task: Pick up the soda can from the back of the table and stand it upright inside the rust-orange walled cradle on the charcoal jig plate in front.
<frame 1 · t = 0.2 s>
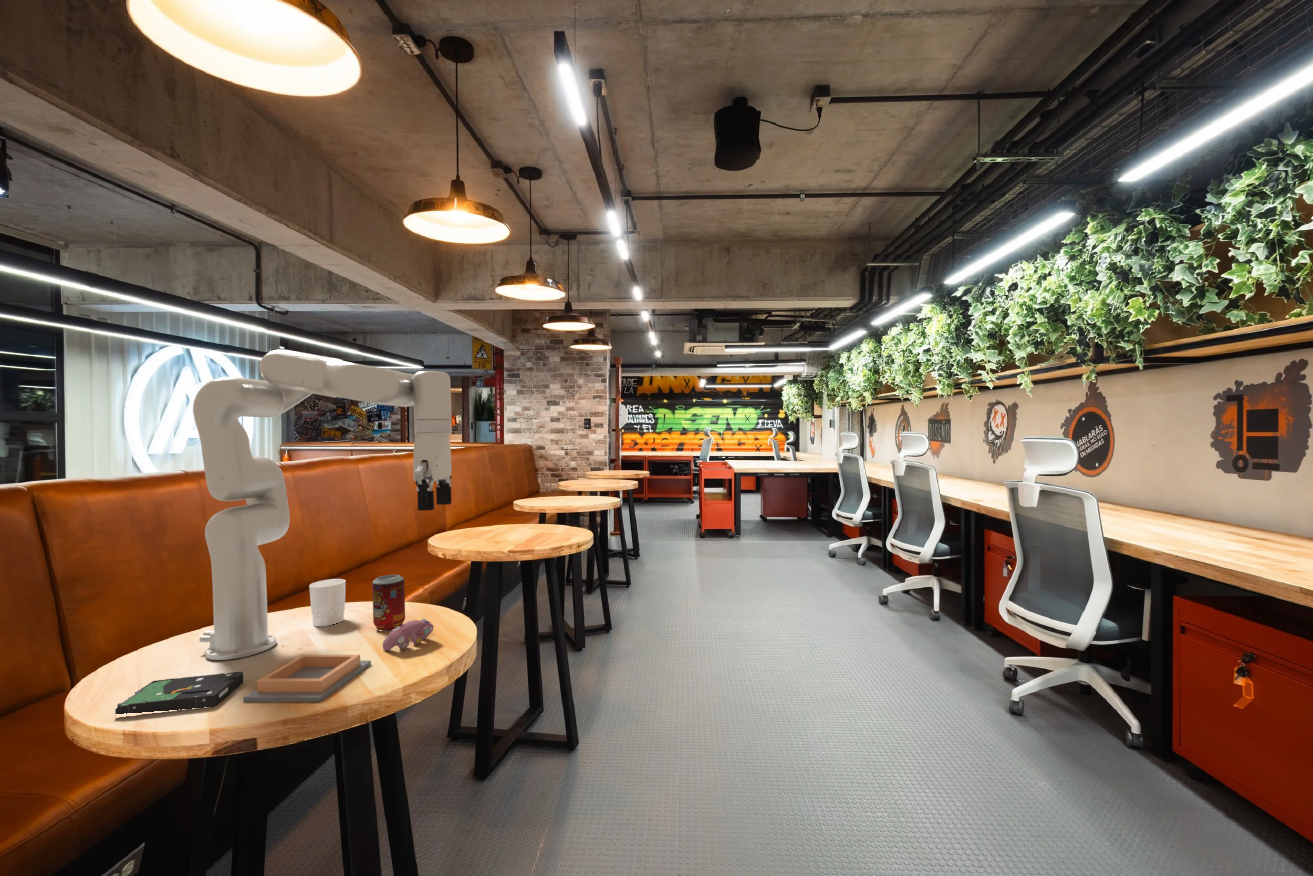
hand: (435, 507, 122), 31 cm above the table, tool pointing down, fingers open, 9 cm apart
cradle jig: (311, 681, 107), on the table
soda can: (389, 628, 137), on the table
video game controller: (409, 647, 124), on the table
white cup: (328, 623, 142), on the table
disk drive: (183, 703, 101), on the table
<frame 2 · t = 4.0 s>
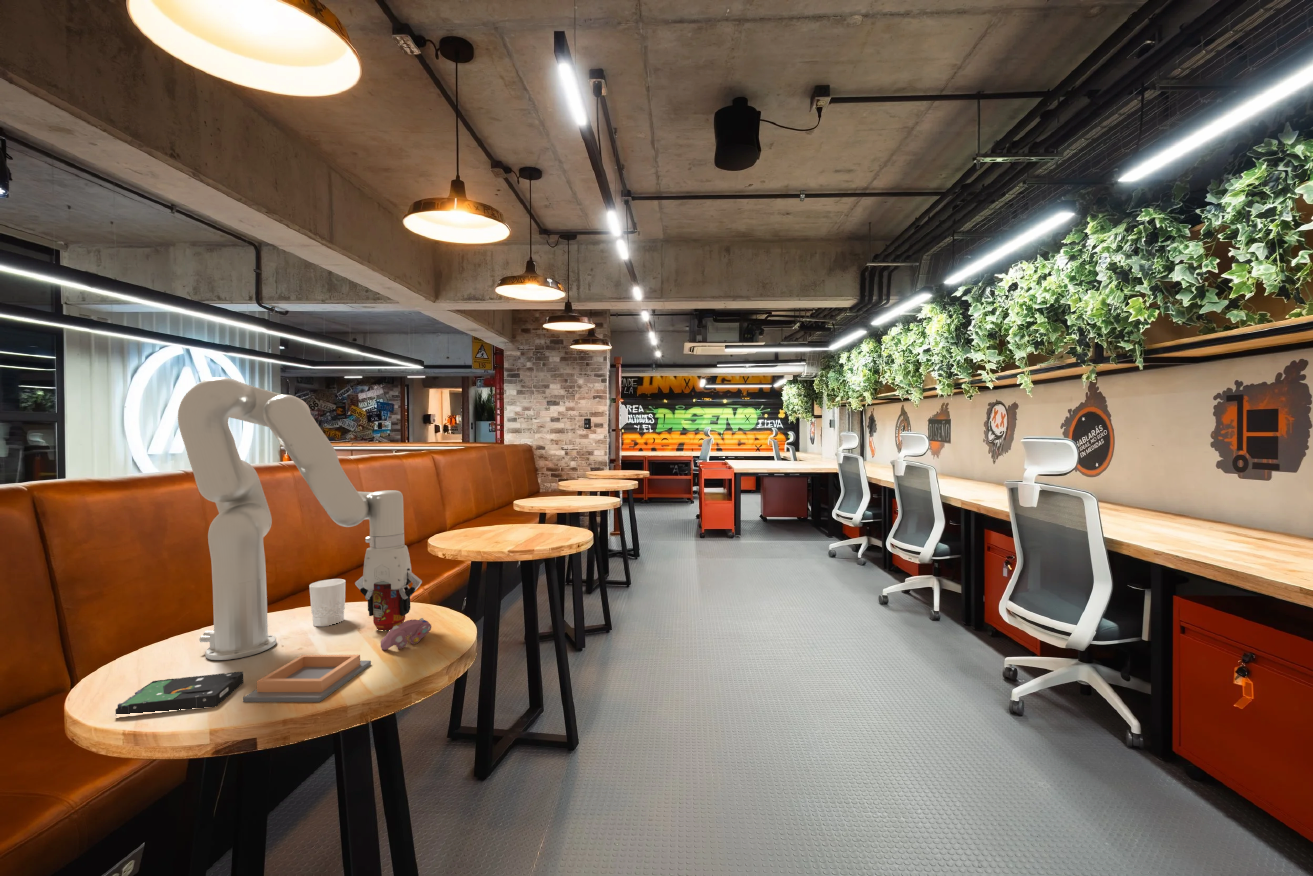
hand: (389, 613, 137), 3 cm above the table, tool pointing down, fingers closed on soda can, 7 cm apart
soda can: (389, 628, 137), on the table, touching gripper
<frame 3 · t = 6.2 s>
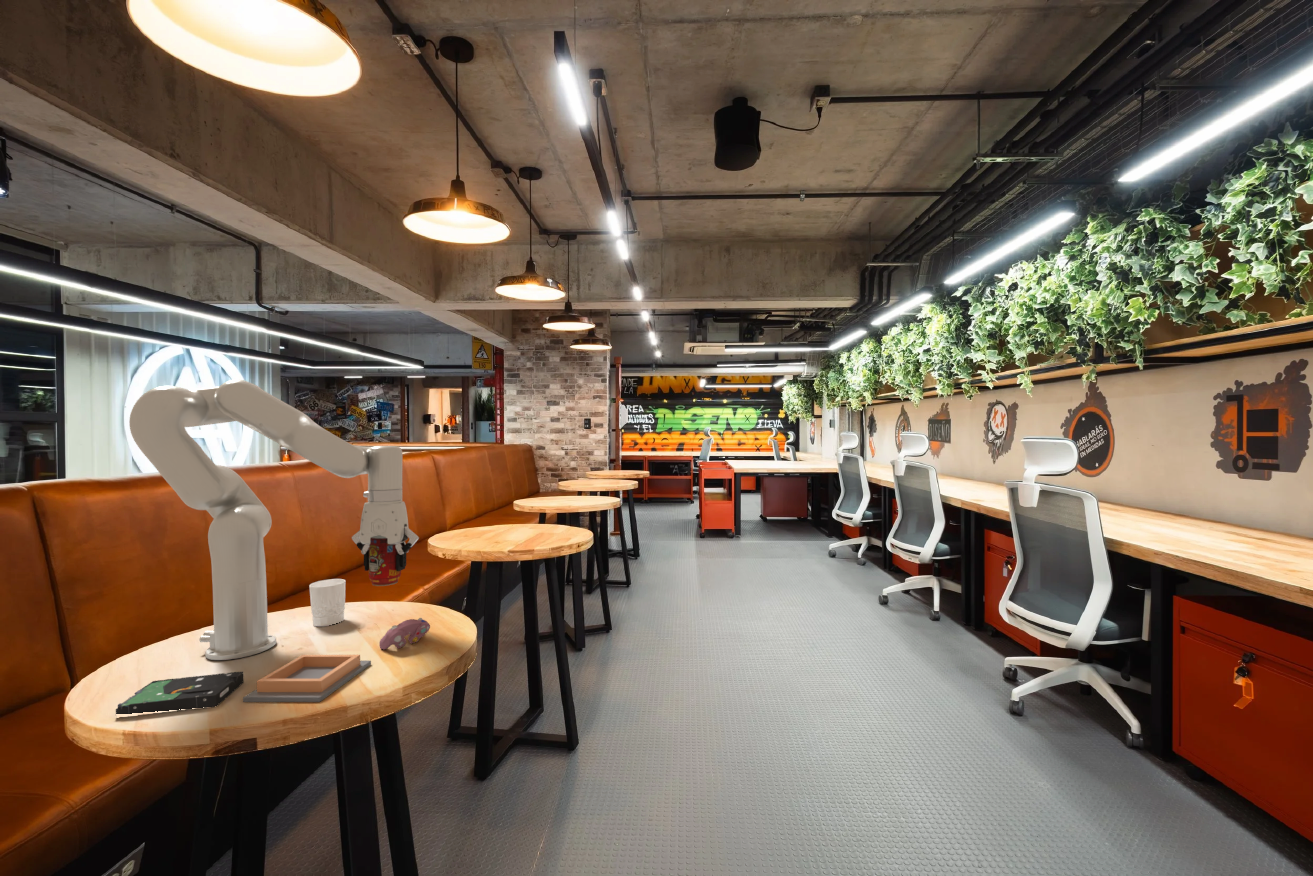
hand: (385, 569, 136), 14 cm above the table, tool pointing down, fingers closed on soda can, 7 cm apart
soda can: (385, 583, 136), point 11 cm above the table, touching gripper
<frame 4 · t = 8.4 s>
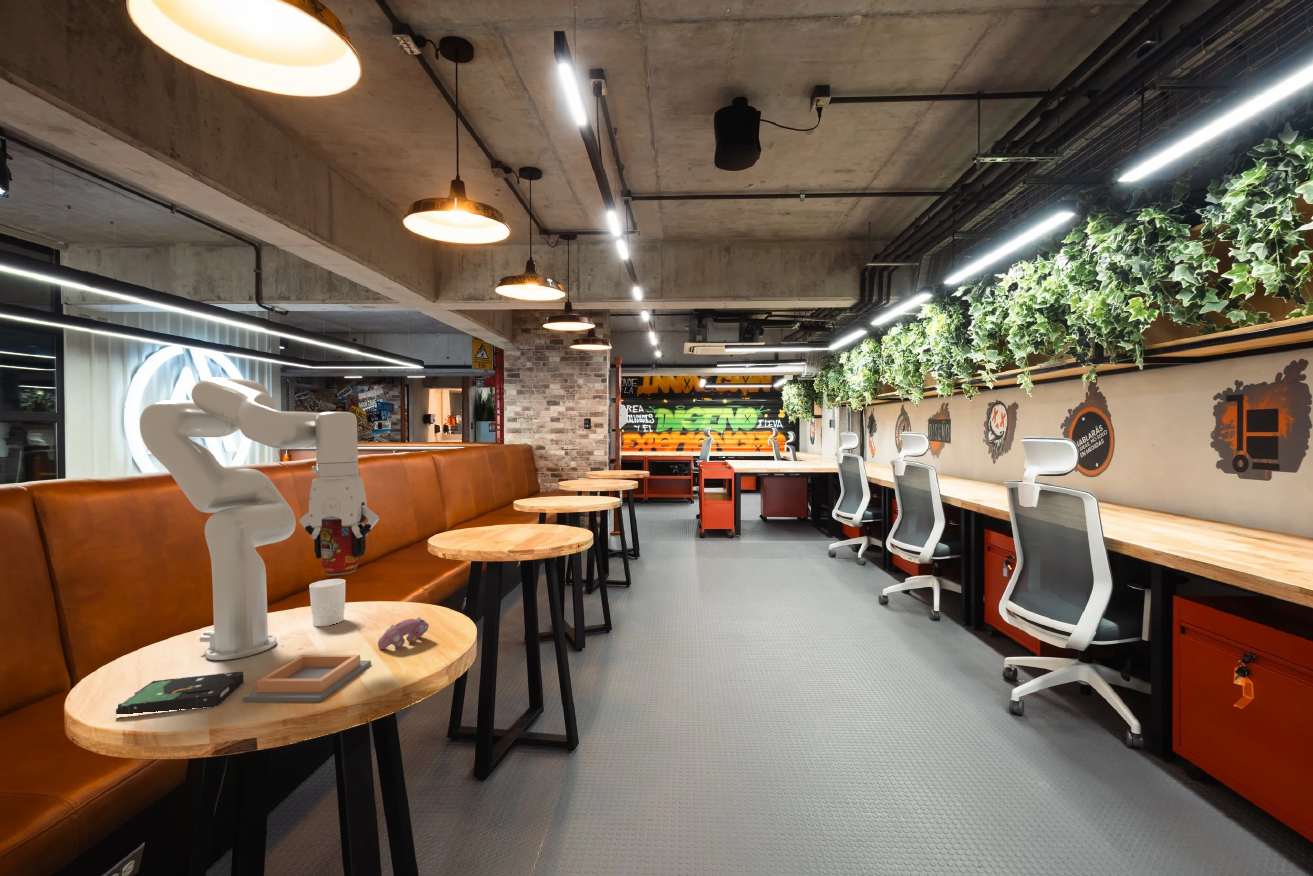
hand: (340, 555, 117), 22 cm above the table, tool pointing down, fingers closed on soda can, 7 cm apart
soda can: (341, 572, 117), point 18 cm above the table, touching gripper
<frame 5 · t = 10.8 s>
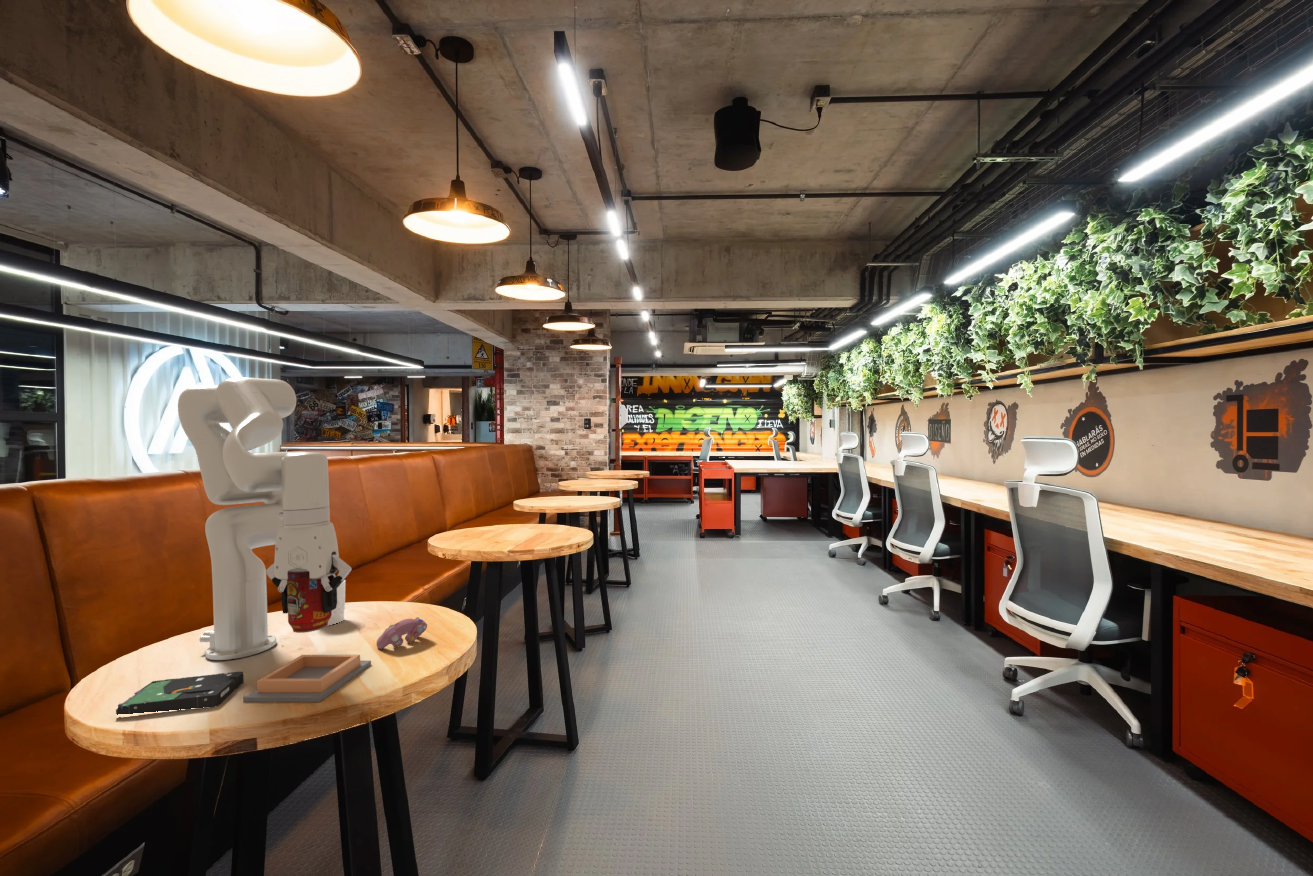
hand: (309, 610, 107), 14 cm above the table, tool pointing down, fingers closed on soda can, 7 cm apart
soda can: (310, 628, 107), point 10 cm above the table, touching gripper
when the fingers open (5 cm above the table, at t = 12.9 s): soda can drops 1 cm, resting on cradle jig.
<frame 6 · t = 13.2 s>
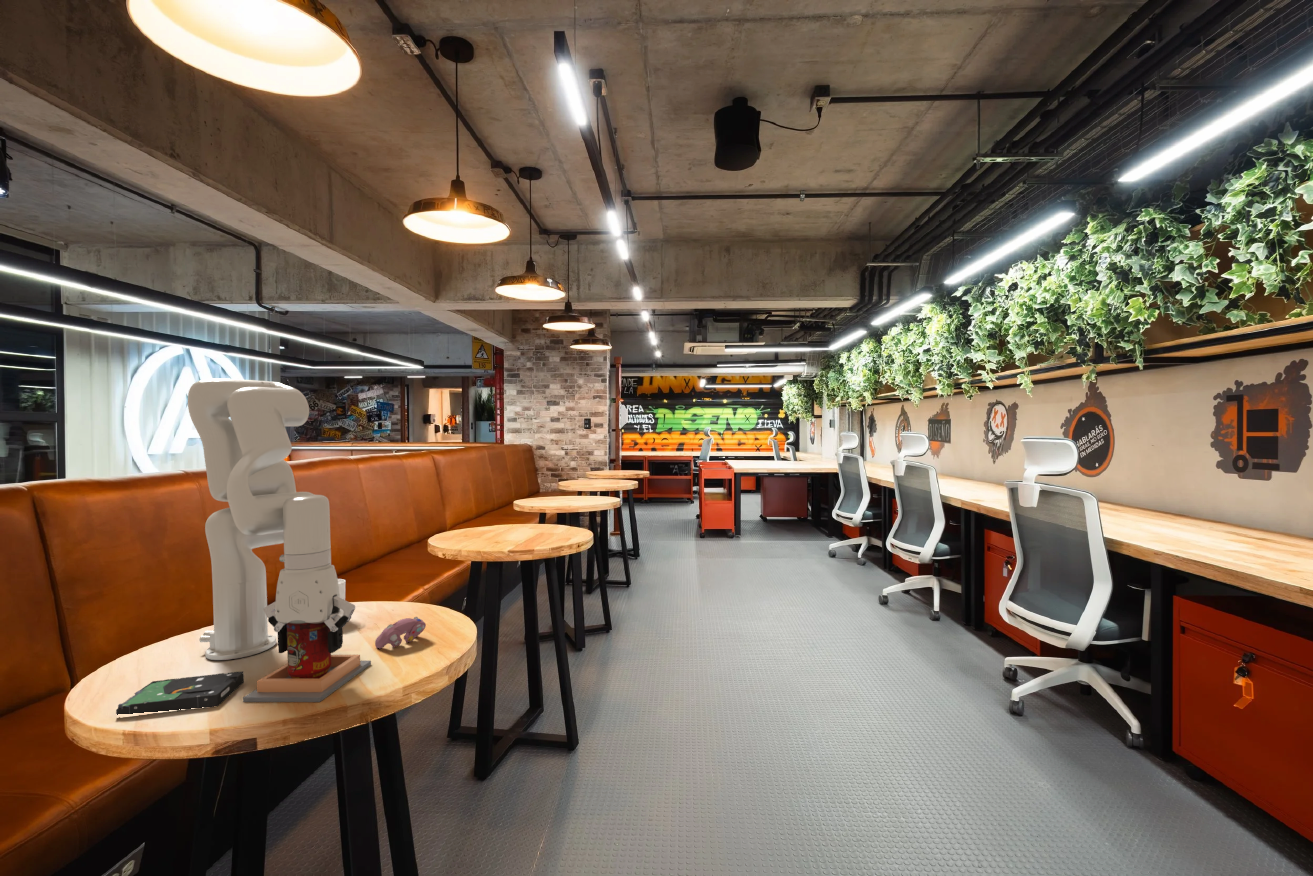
hand: (310, 650, 107), 6 cm above the table, tool pointing down, fingers open, 9 cm apart
soda can: (310, 678, 107), point 1 cm above the table, touching cradle jig
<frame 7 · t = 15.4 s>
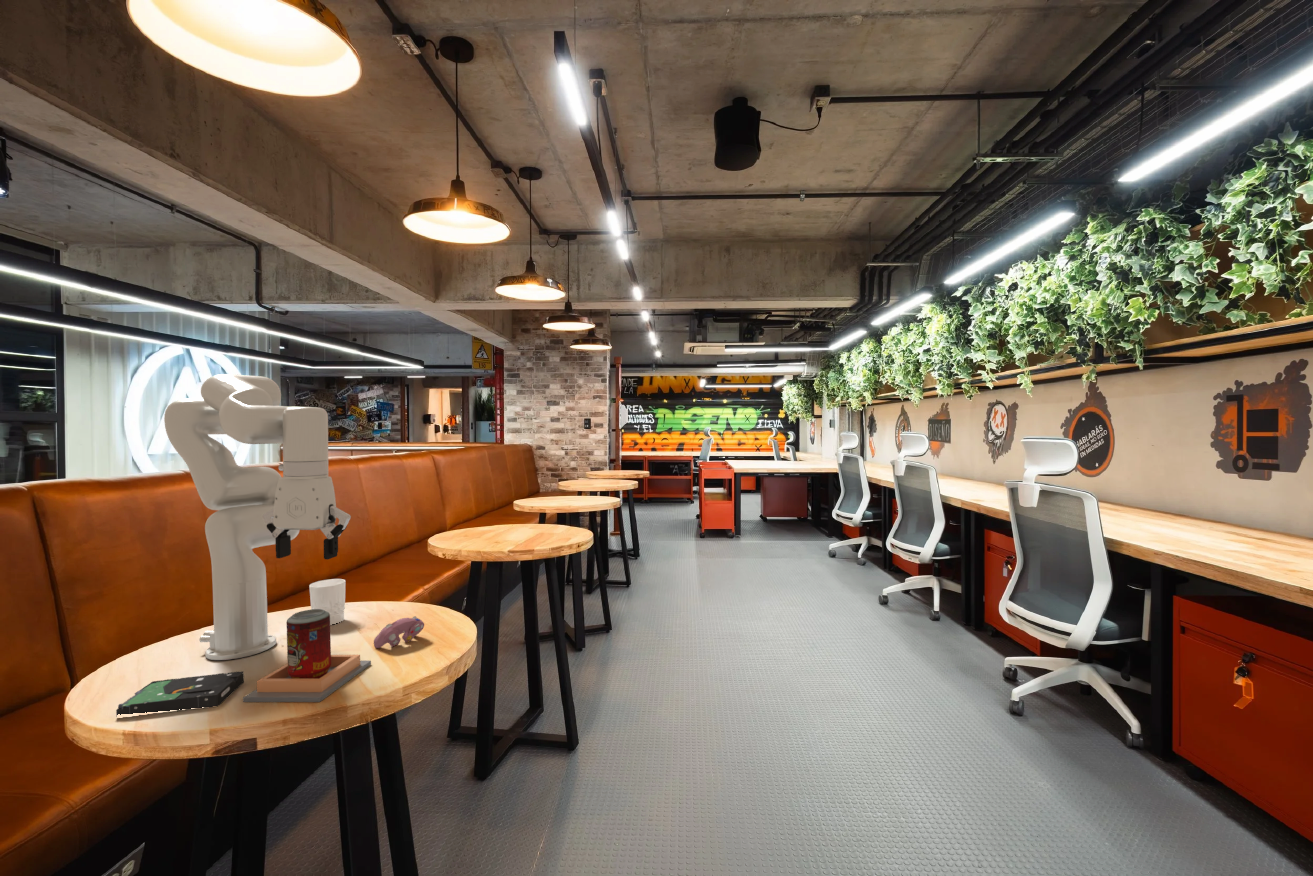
hand: (307, 557, 110), 23 cm above the table, tool pointing down, fingers open, 9 cm apart
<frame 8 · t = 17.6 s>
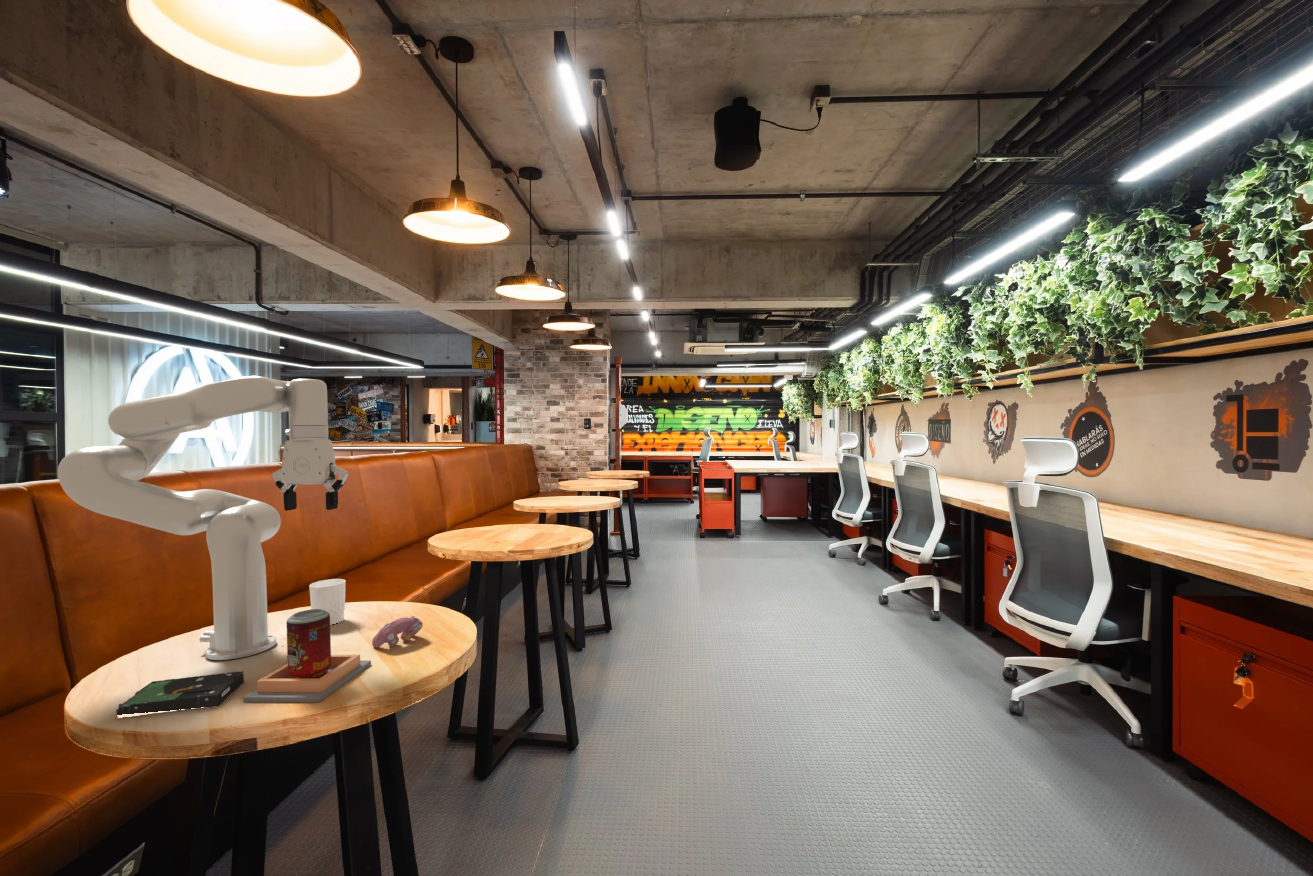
hand: (311, 509, 127), 30 cm above the table, tool pointing down, fingers open, 9 cm apart
at the end: soda can 0.3 cm off-centre on the cradle jig, point 0.6 cm above the cradle jig's base; soda can tilted 0°; the gripper is holding nothing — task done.
